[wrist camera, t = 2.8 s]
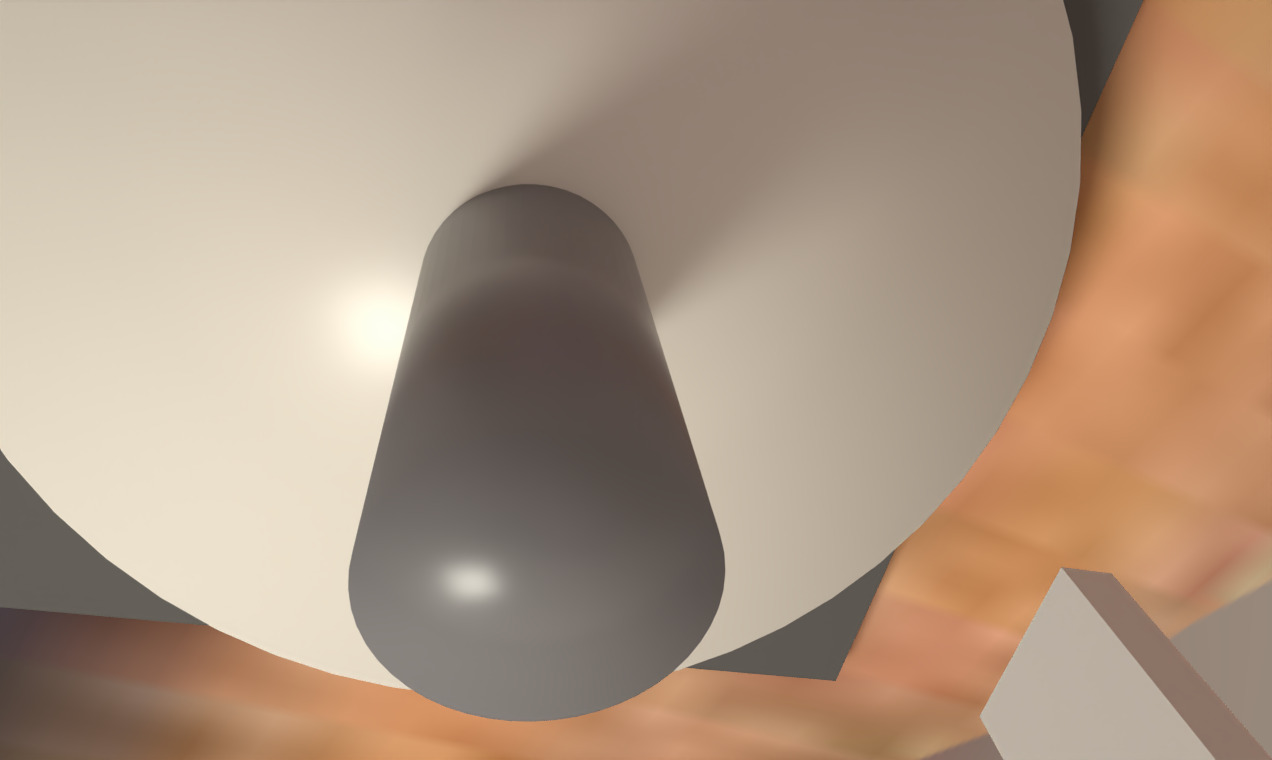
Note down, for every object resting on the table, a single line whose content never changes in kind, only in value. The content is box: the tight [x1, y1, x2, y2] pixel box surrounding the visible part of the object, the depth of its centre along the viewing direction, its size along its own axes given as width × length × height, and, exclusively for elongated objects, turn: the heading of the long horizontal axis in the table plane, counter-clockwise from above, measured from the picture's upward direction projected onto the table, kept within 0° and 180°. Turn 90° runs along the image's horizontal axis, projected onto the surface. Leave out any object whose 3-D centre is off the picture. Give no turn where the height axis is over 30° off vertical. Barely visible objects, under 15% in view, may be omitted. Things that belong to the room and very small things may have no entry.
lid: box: [0, 0, 1081, 721], centre depth 15 cm, size 23×23×10 cm
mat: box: [0, 0, 1143, 681], centre depth 20 cm, size 22×22×1 cm
